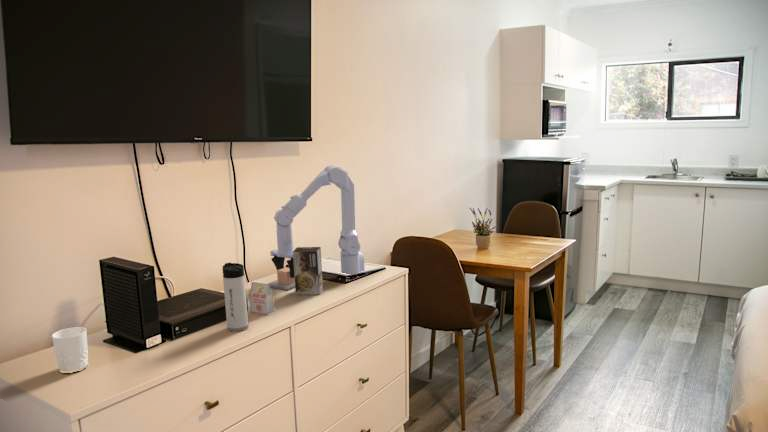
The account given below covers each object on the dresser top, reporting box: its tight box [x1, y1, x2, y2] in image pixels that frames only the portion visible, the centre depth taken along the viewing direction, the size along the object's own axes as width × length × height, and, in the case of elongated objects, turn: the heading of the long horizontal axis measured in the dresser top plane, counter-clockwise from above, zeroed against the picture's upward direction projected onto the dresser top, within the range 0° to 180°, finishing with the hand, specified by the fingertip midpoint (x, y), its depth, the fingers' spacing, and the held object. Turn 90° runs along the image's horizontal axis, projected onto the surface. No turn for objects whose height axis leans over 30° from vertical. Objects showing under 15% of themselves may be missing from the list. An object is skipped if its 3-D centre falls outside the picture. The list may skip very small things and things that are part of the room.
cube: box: [276, 266, 295, 285], centre depth 218 cm, size 5×5×5 cm
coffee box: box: [293, 246, 324, 295], centre depth 207 cm, size 9×6×16 cm
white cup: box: [51, 326, 89, 371], centre depth 149 cm, size 8×8×10 cm
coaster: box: [266, 279, 296, 292], centre depth 219 cm, size 12×12×1 cm
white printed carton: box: [249, 281, 275, 316], centre depth 188 cm, size 4×7×10 cm, turn 65°
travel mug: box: [222, 262, 249, 332], centre depth 174 cm, size 6×7×20 cm
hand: (287, 276), depth 218 cm, fingers open, 6 cm apart
